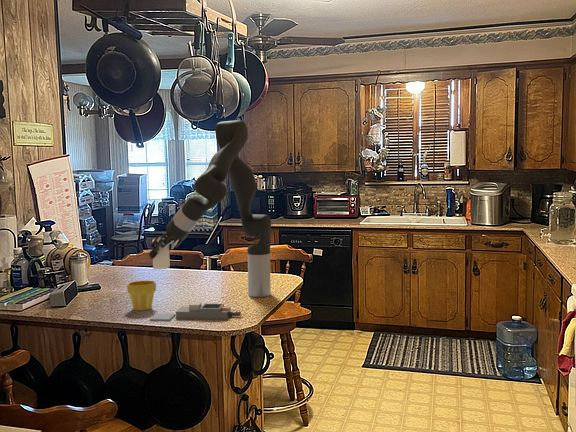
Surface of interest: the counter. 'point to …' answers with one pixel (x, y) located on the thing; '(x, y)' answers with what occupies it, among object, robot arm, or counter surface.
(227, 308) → the power strip
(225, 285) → the counter surface
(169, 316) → the pad
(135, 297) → the plant pot
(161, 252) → the block
